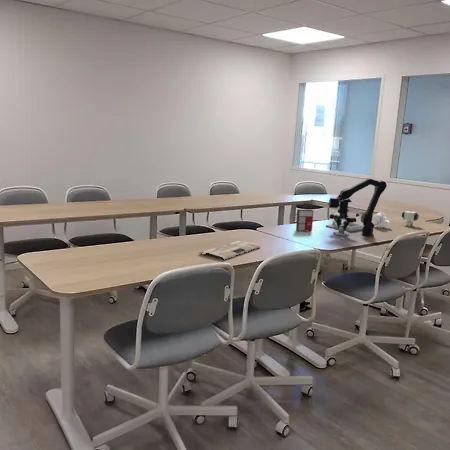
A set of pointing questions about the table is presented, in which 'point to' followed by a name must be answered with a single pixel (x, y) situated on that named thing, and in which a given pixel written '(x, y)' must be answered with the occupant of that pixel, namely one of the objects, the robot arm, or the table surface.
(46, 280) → the table surface
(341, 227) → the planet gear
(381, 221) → the white lumpy lump
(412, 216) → the pneumatic valve
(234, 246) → the newspaper
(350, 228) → the carrier plate
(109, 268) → the table surface
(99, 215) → the table surface
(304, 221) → the grey and red box
